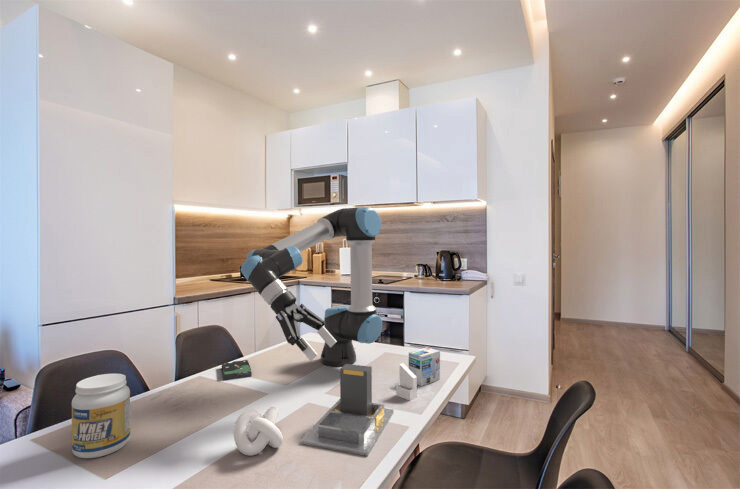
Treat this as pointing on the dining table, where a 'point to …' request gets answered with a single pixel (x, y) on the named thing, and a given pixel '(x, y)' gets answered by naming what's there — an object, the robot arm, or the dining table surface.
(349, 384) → the grey block
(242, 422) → the white knot
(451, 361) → the dining table surface
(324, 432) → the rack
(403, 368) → the white wedge bracket
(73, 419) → the supplement tub
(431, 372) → the light bulb box
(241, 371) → the disk drive
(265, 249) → the robot arm
